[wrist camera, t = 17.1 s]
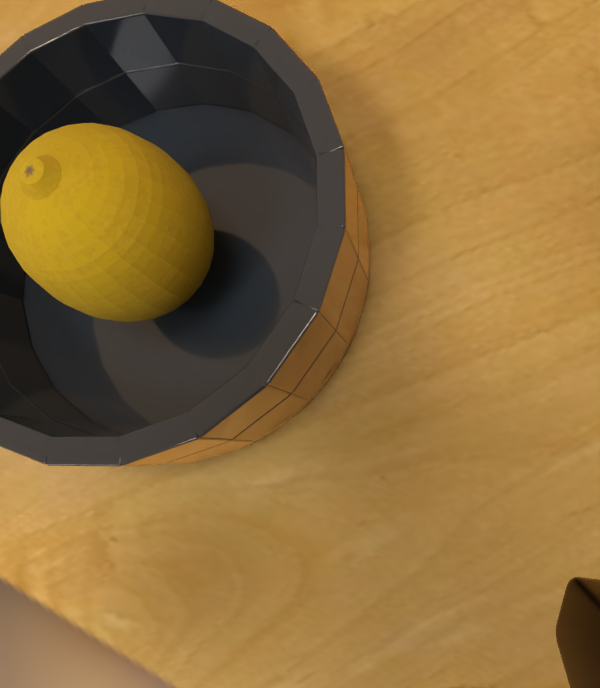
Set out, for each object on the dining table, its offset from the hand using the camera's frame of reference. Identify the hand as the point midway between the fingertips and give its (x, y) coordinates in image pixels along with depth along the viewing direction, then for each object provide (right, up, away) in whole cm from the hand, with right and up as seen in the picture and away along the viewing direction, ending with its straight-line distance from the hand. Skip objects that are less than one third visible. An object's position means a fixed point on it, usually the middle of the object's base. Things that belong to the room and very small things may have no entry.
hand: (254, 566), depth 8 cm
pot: (-4, +6, +14) cm, 16 cm away
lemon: (-4, +6, +13) cm, 15 cm away
